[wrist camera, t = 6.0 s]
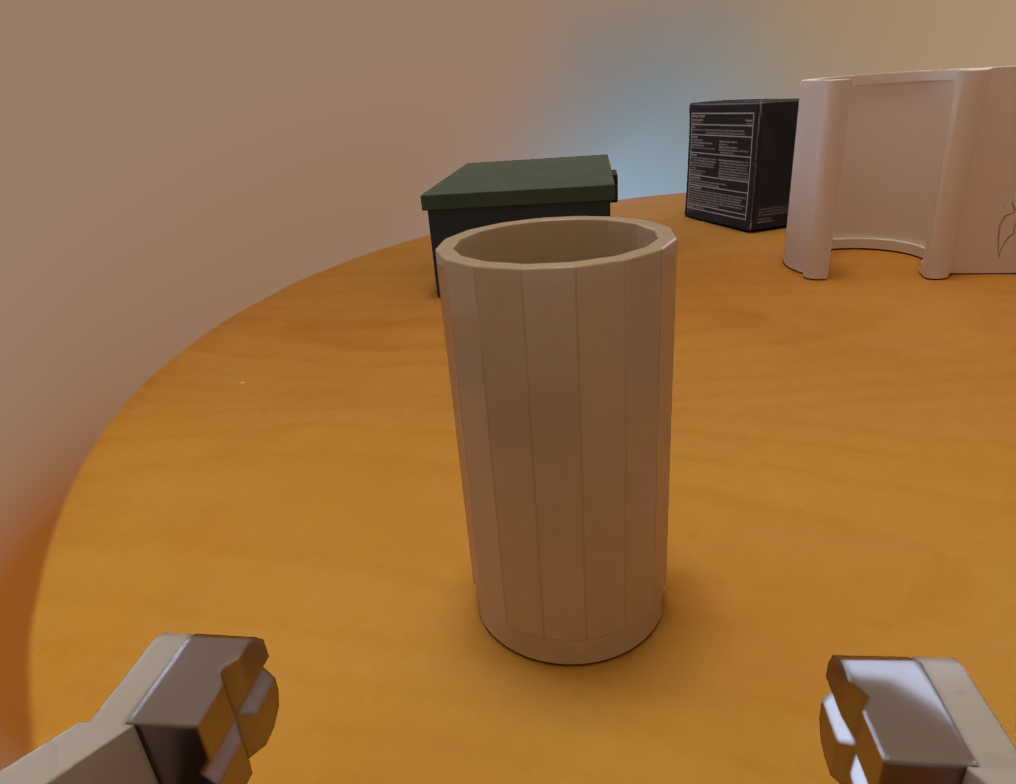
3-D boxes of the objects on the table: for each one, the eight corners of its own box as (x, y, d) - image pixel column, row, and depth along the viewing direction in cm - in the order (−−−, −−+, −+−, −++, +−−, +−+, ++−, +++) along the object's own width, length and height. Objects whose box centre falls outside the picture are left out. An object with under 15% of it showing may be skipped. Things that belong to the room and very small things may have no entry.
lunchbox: (622, 291, 46) (622, 183, 43) (426, 298, 47) (413, 195, 44) (613, 234, 62) (612, 154, 59) (469, 241, 64) (461, 163, 61)
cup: (463, 661, 17) (412, 273, 13) (490, 536, 22) (459, 221, 18) (674, 668, 16) (690, 261, 12) (655, 537, 21) (662, 211, 17)
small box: (811, 223, 60) (825, 95, 56) (749, 233, 59) (759, 101, 54) (737, 208, 70) (745, 97, 65) (682, 216, 68) (686, 102, 63)
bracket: (1157, 241, 47) (1219, 47, 42) (1258, 278, 39) (1351, 41, 34) (776, 246, 54) (792, 78, 49) (791, 279, 45) (812, 80, 40)
